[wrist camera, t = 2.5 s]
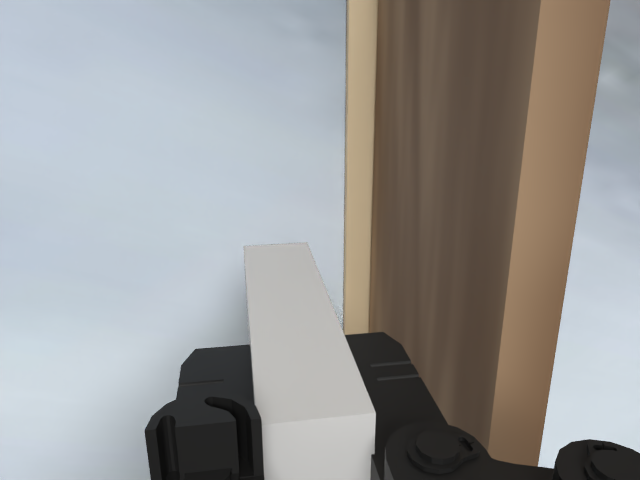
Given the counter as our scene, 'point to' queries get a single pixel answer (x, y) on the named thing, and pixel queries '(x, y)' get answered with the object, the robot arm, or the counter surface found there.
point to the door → (481, 199)
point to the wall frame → (359, 161)
